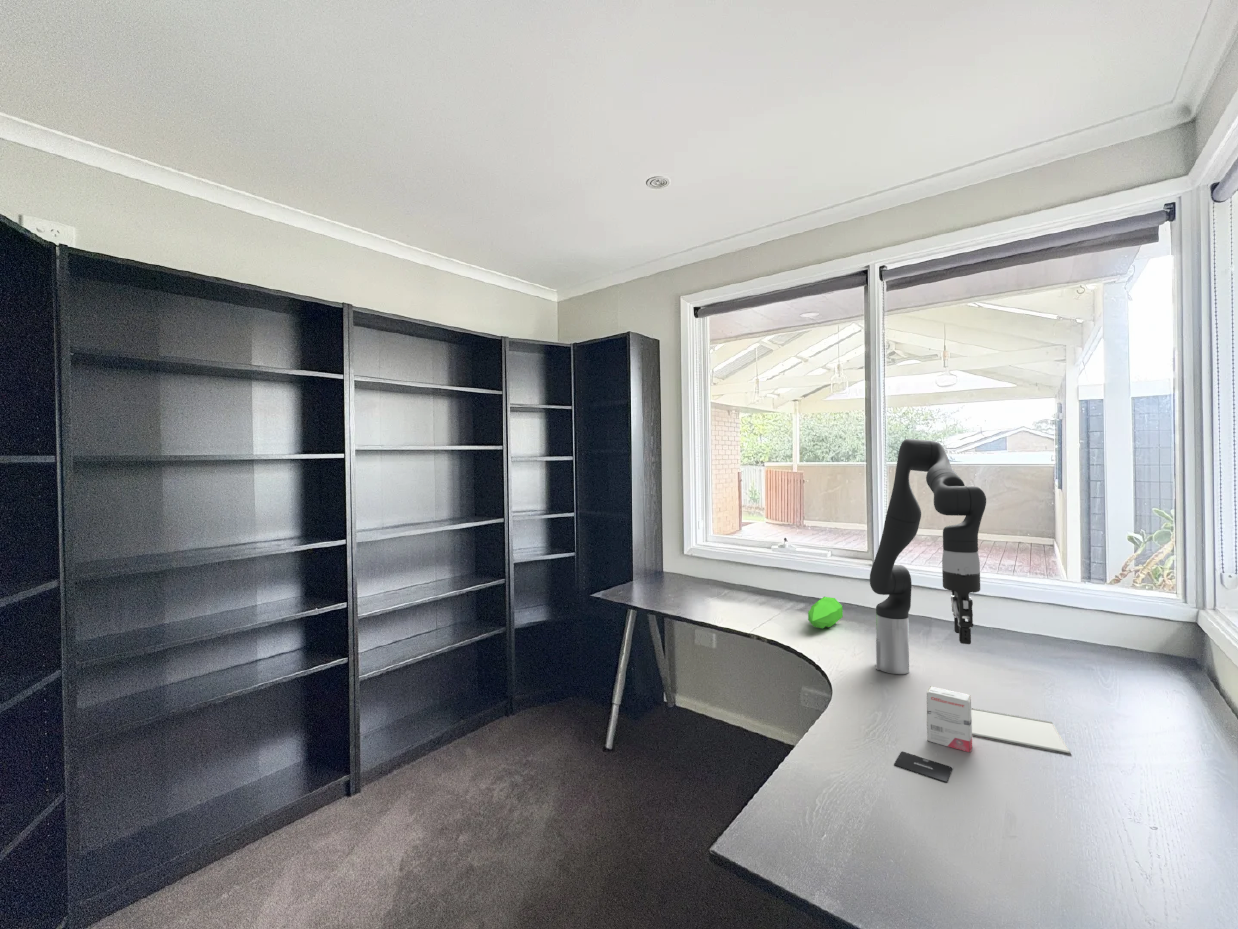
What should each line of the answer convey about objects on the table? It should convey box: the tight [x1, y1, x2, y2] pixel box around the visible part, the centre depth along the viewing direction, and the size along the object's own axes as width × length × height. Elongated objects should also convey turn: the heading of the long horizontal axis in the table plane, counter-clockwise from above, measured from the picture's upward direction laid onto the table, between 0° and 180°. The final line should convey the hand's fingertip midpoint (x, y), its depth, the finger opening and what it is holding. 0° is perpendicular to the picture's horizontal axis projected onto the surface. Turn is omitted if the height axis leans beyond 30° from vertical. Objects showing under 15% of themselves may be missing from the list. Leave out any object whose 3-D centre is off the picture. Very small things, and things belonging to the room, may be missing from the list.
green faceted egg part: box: [807, 596, 844, 629], centre depth 211 cm, size 11×12×30 cm
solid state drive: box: [893, 751, 953, 784], centre depth 113 cm, size 7×10×1 cm
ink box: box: [926, 686, 973, 753], centre depth 123 cm, size 9×5×12 cm, turn 50°
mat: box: [971, 707, 1072, 756], centre depth 130 cm, size 24×16×1 cm, turn 62°
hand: (962, 638), depth 124 cm, fingers open, 8 cm apart
